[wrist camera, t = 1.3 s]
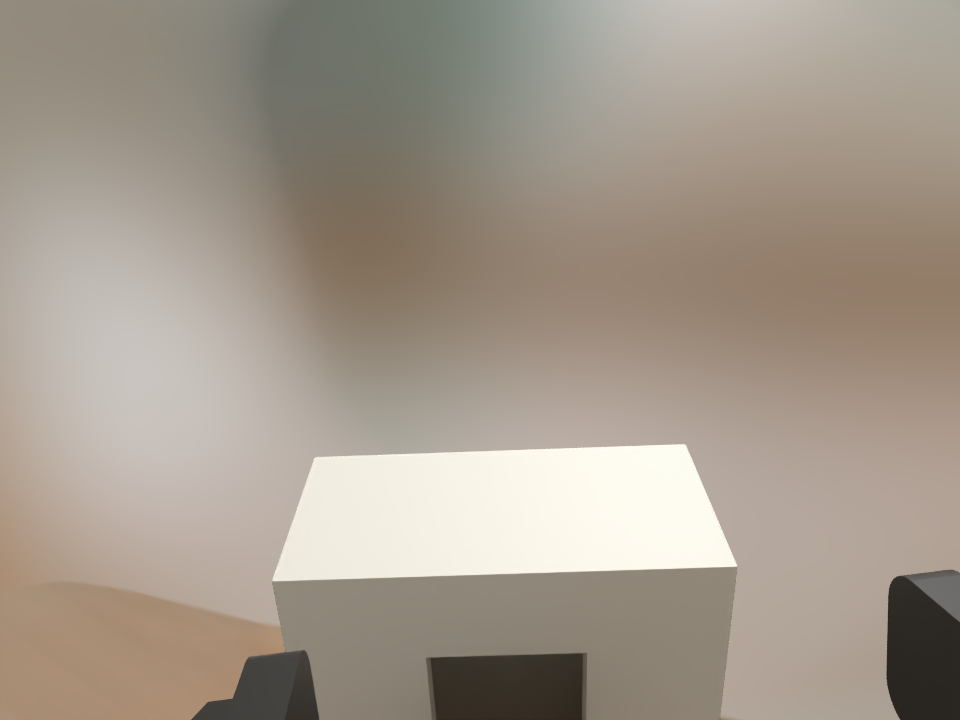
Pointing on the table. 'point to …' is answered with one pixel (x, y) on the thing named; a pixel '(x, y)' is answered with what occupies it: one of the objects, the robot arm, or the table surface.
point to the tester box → (509, 586)
